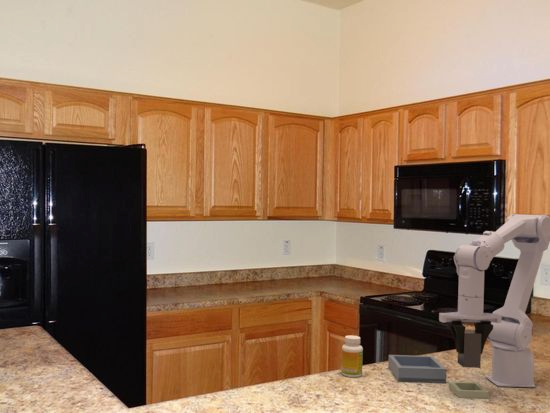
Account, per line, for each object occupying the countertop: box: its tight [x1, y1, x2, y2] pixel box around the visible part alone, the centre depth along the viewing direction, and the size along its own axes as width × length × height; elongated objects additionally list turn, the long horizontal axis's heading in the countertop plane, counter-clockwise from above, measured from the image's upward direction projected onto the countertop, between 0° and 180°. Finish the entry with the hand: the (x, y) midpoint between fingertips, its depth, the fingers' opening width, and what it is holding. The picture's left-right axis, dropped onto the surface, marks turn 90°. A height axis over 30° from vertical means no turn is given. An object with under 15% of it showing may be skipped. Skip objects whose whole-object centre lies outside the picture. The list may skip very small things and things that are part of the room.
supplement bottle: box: [340, 334, 364, 378], centre depth 143 cm, size 5×5×10 cm
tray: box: [387, 354, 447, 384], centre depth 144 cm, size 12×12×4 cm
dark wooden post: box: [457, 329, 482, 369], centre depth 131 cm, size 4×4×8 cm
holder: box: [448, 380, 490, 399], centre depth 131 cm, size 7×7×2 cm
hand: (469, 352), depth 131 cm, fingers closed on dark wooden post, 4 cm apart
